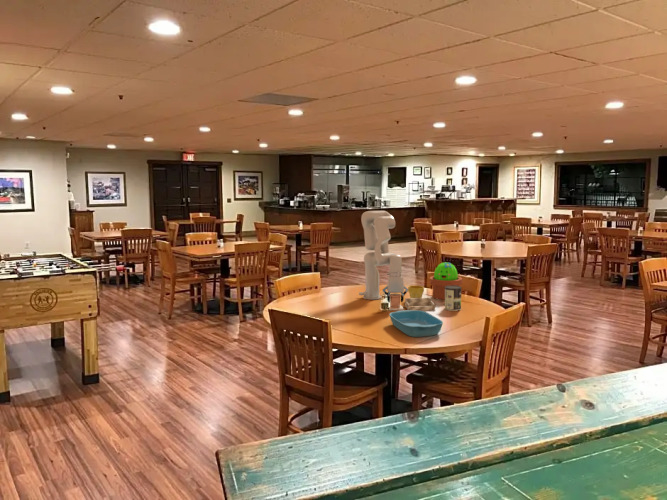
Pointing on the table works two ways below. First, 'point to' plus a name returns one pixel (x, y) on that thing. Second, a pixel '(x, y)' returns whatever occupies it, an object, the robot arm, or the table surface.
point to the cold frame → (419, 304)
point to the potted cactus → (444, 279)
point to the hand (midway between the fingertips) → (395, 301)
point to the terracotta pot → (395, 300)
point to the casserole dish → (416, 323)
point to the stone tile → (397, 308)
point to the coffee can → (453, 298)
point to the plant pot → (415, 291)
